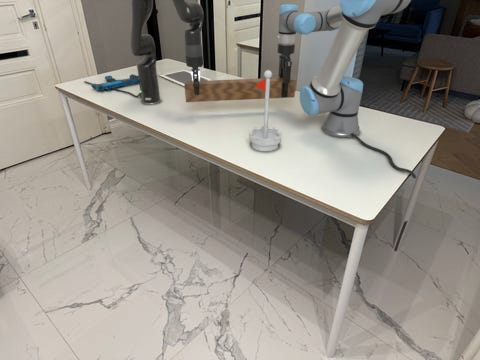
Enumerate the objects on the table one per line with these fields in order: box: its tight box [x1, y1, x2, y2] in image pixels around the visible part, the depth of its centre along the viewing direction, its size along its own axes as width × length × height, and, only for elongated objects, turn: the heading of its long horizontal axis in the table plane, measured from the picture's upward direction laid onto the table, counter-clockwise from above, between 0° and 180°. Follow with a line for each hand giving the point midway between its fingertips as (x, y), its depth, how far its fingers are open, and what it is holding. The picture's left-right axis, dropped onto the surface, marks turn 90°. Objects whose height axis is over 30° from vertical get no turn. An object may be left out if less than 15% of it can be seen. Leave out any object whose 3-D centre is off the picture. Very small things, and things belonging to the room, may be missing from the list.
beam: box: [184, 76, 297, 103], centre depth 159 cm, size 51×5×8 cm, turn 97°
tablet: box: [158, 69, 212, 88], centre depth 216 cm, size 32×20×1 cm, turn 41°
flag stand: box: [248, 69, 283, 152], centre depth 130 cm, size 13×13×30 cm
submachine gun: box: [90, 73, 140, 92], centre depth 207 cm, size 34×4×25 cm
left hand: (196, 92), depth 157 cm, fingers closed on beam, 4 cm apart
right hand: (282, 94), depth 163 cm, fingers closed on beam, 5 cm apart
